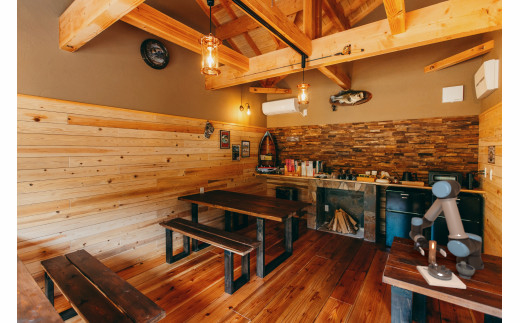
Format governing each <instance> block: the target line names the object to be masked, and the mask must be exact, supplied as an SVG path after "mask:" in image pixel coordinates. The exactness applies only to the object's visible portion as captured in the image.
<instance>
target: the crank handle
mask: <svg viewBox="0 0 520 323" xmlns="http://www.w3.org/2000/svg"><path fill="white" fill-rule="evenodd" d="M428 242H429V248H428V263H429V264H428V266H427V267H428V273H429V275H431V276H432V277H434V278H437V279H440V280H447V281H448V280H451V279H452V273H453V272H452V270H451V269H450V268H447V267H446V265H444V264H442V265H438V263H437V262H436V261H437V260H436V258H437V250H436V245H437V241H436V240H428Z"/></svg>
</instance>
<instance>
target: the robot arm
mask: <svg viewBox="0 0 520 323" xmlns="http://www.w3.org/2000/svg"><path fill="white" fill-rule="evenodd" d="M461 190H462V187H461V185H460V183H459V181H456V180H454V179H445V180H439V181H436V182H435V183H434V184H433V185H432V187H431V191H432V194H433V195H434V196H436V200H434V202H433V204H432V205H431V206H429V209H427V211H426V213H425V214H424V215H423V217H422V218H421V217H412V218H411V222H410V223H411V230H410V232H409V237H410V238H411V240H413V241H414V245H413V250H415V251H416V252H419V253H421V255H422V256H425V251H424V250H423V249H429V240H427V238H425V236H424V235H423V229H426V228H429V227H431V226H434V223H435V222H434V221H435V220H436V219H437V218H438V216H439V215H440V214H441V213H442V211H443V214H444V218H445V221H446V225H447V229H448V231H449V235H447V237H448V243H447V249H448V251H449V252H450V253H451V254H452V255H453V256H456V260H455V261H456V264H457V263H461V261H464V262H465V263H466V264H467V265H470V266H472V267H474V268H475V271H476V270H484V268H485V267H484V266H485V265H484V261H483V260H482V244H483V241H482V240H483V239H482V236H479V235H477V234H474V233H470V232H469V233H468V232H465V229H464V225H463V222H462V218H461V215H460V212H459V208H458V206H457V205H458V204H457V199H458V195H459V193H460V192H461ZM436 252H439V253H440V254H441V255H442V256H444V257H445V258H446V257H447V253H446V248H445V247H443V246H440V245H438V244H436Z"/></svg>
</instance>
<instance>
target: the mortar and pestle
mask: <svg viewBox="0 0 520 323" xmlns="http://www.w3.org/2000/svg"><path fill="white" fill-rule="evenodd" d="M455 268H456V271H457V272H458V275H459V277H461V278H463V279H465V280H470V279H471V278H472V276H473V275H474V274H475V273H476V269H475V268H474V267H472V266H470V265H467V264H466V263H465V262H464V261H461V263H457V262H456V264H455Z"/></svg>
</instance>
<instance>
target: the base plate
mask: <svg viewBox="0 0 520 323" xmlns="http://www.w3.org/2000/svg"><path fill="white" fill-rule="evenodd" d="M416 270H417V271H418V272H419V274H420V275H421V276H422V277H423V279H424V280H425V281H426V282H427V284H428V285H429V286H436V287H446V288H455V289H456V288H457V289H464V290H466V289H467V285H466V284H465V283H464V282H463V281H462V280H461V279H460V278H459V277H458V276H457V275H455V274H454V272H452V279H451V280H448V281H447V280H440V279H437V278H434V277H432V276H431V275H429V273H428V266H421V265H416Z"/></svg>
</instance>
